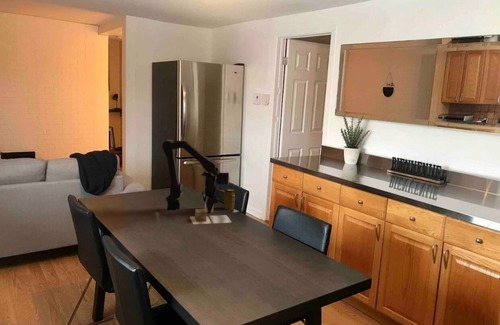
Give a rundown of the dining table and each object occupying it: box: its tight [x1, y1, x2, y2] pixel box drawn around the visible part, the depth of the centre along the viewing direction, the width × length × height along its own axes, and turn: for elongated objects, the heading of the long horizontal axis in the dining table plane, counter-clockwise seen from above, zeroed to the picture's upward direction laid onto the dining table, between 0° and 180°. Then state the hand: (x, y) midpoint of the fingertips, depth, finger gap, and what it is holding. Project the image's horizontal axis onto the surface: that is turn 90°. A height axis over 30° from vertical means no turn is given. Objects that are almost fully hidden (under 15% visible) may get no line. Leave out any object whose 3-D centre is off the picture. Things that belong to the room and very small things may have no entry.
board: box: [189, 214, 233, 225], centre depth 205 cm, size 20×12×1 cm, turn 108°
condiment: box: [223, 188, 239, 213], centre depth 225 cm, size 7×8×12 cm
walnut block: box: [194, 208, 208, 222], centre depth 203 cm, size 5×5×5 cm
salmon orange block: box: [204, 203, 214, 214], centre depth 218 cm, size 4×4×6 cm
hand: (208, 211), depth 218 cm, fingers open, 4 cm apart
